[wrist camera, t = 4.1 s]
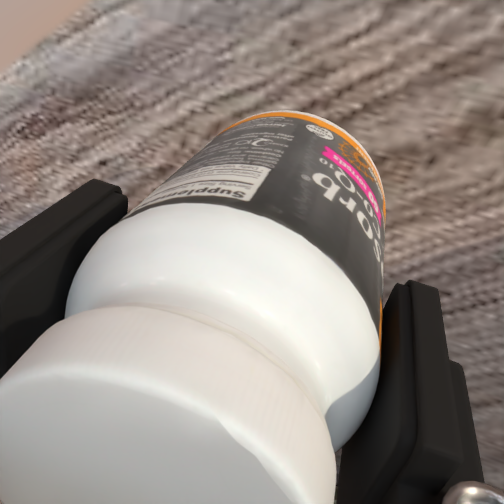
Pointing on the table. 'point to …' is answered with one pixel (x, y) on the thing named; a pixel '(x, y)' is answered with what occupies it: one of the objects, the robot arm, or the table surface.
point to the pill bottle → (212, 333)
